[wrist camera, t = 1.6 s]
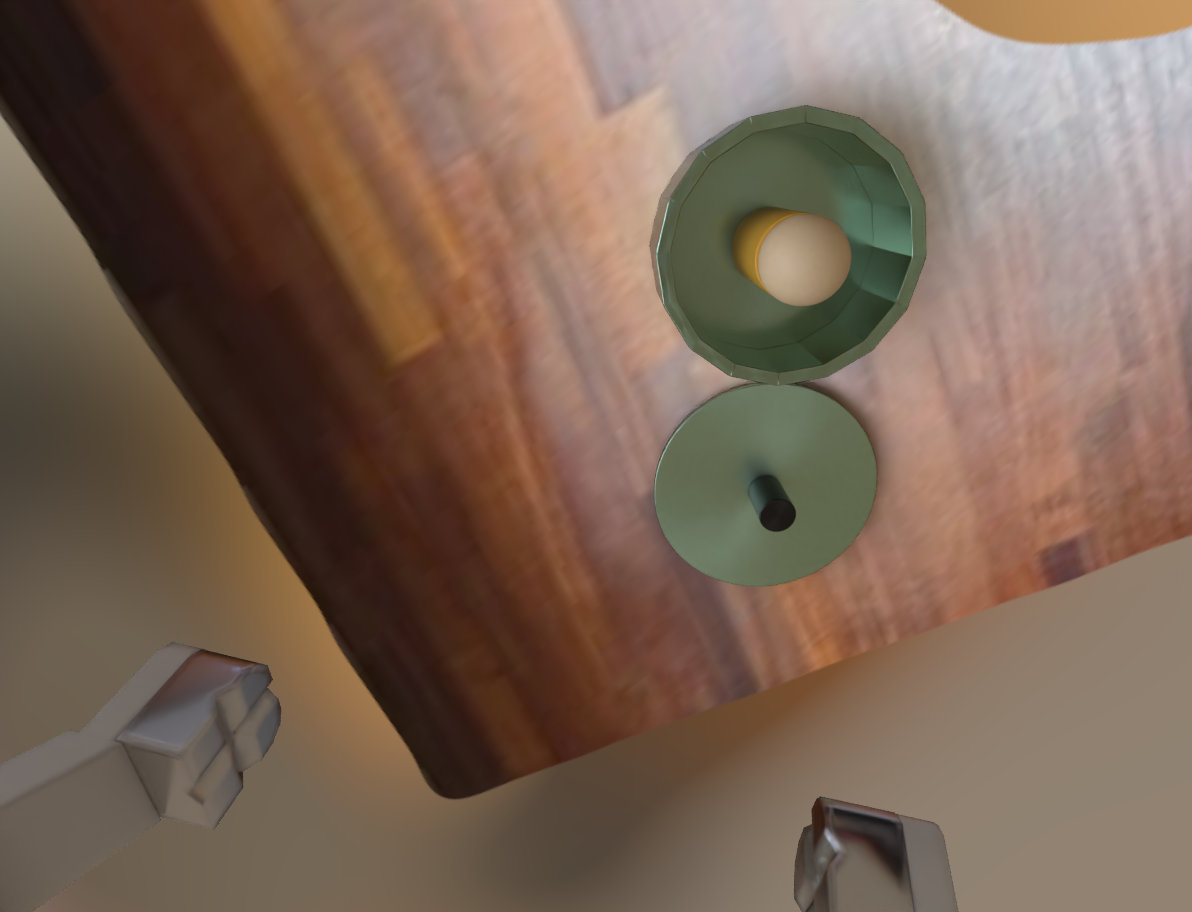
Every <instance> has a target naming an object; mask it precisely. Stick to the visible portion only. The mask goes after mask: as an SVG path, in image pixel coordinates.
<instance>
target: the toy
mask: <svg viewBox="0 0 1192 912" xmlns="http://www.w3.org/2000/svg"><path fill="white" fill-rule="evenodd" d="M731 252H732V258H733V261H734V264H735V266H736V267H737V269H738V270H739V272H740V273H741V274H742V275H744V276H745V277H746V278H747V279H749V280H750V281H752V282H753V283H755V284H756V285H757V286H759V287H760V288H762V289H763V290H765V291H766V292H767V293H769V294H770V295H772V296H773V297H775V298H776V299H778V300H779V301H781V302H783V303H786V304H789V305H793V306H810V305H814V304H817V303H820V302H822V301H824V300H826V299H828V298H829V297H830V296H832V295H833V294H834V293H835V292H836V291H837V290H838V289H839V288H840V287H841V285H842V284H843V283H844V281H845V279H846V277H847V275H848V272H849V269H850V265H851V248H850V244H849V241H848V238H847V236H846V235H845V233H844V231H843V230H842V229H841V228H840V226H838V225H837V224H836V223H835V222H834V221H832V220H831V219H829V218H826V217H824V216H821V215H818V214H812V213H806V212H800V211H795V210H789V209H783V208H777V207H766V208H761V209H758V210H756V211H754V212H752V213H750V214H749V215H748V216H746V217H745V218H744V219H743V220H742V221H741V223H740V224H739V225H738V227H737V228H736V231H735V233H734V235H733V239H732V245H731Z"/></svg>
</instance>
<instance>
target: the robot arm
mask: <svg viewBox="0 0 1192 912" xmlns="http://www.w3.org/2000/svg"><path fill="white" fill-rule="evenodd" d="M272 680H273V679H272V676H271V673H270V671H269V668H268V665H264V664H260V663H256V662H252V661H248V660H244V659H240V658H236V657H231V656H227V655H223V654H219V653H215V652H210V651H208V650H205V649H201V648H197V647H192V646H188V645H184V644H179V643H175V642H171V643H169V644H168V645H166V646H164V647H162V648H160V649H159V650H158V651H157V652H156V653H155V654H154V655H153V656H152V657H151V658H150V659H149V660H148V661H147V662H146V663H145V664H144V665H143V666H142V667H141V668H140V669H139V670H138V672H137V673H136V674H135V675H134V676H133V677H132V678H131V679H130V680H129V681H128V682H127V683H126V684H125V685H124V686H123V687H122V688H121V689H120V691H119V692H117V694H116V695H115V696H114V697H113V698H112V699H111V700H110V701H109V702H108V703H107V704H106V705H105V706H104V707H103V708H102V709H101V710H100V711H99V713H97V715H96V716H95V717H94V718H93V719H92V720H91V721H90V722H89V723H88V724H87V725H86V726H85V727H84V728H83V729H82V730H81V731H76V730H69V731H67V732H65V733H64V734H61V735H59V736H57V737H55V738H53V739H51V740H49V741H47V742H45V743H43V744H41V745H39V746H37V747H35V748H33V749H31V750H29V751H27V752H24V753H23V754H21V755H18V756H17V757H14V758H12V759H10V760H8V761H6V762H4V763H2V764H0V912H33V911H34V910H35V909H37V908H38V907H40V906H41V905H43V904H44V903H46V902H47V901H48V900H50V899H51V898H53V897H54V896H55V895H57V894H58V893H60V892H61V891H63V890H64V889H65V888H67V887H68V886H70V885H71V884H72V883H73V882H75V881H77V880H78V879H79V878H81V877H82V876H84V875H85V874H87V873H88V872H89V871H91V870H92V869H94V868H95V867H96V866H98V865H99V864H101V863H102V862H103V861H105V860H106V859H108V858H109V857H110V856H112V855H113V854H115V853H116V852H118V851H119V850H120V849H122V848H123V847H125V846H126V845H127V844H129V843H130V842H132V841H133V840H134V839H136V838H137V837H139V836H140V835H142V834H143V833H144V832H146V831H147V830H149V829H150V828H151V827H153V826H154V825H156V824H157V823H158V822H160V821H161V819H160V817H163V818H167V819H172V820H176V821H180V822H184V823H188V824H192V825H196V826H200V827H204V828H208V829H212V830H214V829H215V828H216V827H217V825H218V824H219V822H220V821H221V819H222V818H223V816H224V815H225V813H226V812H227V810H228V809H229V808H230V806H231V805H232V803H233V802H234V800H235V799H236V797H237V796H238V794H239V793H240V792H241V790H242V789H243V771H245V770H246V769H248V768H250V767H251V766H253V765H254V764H256V763H258V762H260V761H261V760H262V759H263V757H264V756H265V754H266V753H267V751H268V750H269V748H270V747H271V745H272V743H273V741H274V739H275V736H276V734H277V731H278V728H279V726H280V721H281V706H280V703H279V699H278V698H277V697H276V696H275V695H274V694H273V693H272V692H271V691H270V690H269V689H268V688H267V687H268V686H269V684H270V683H271V681H272ZM794 899H795V901H796V903H797V904H798V906H799V908H800V910H801V911H802V912H958V907H957V902H956V897H955V892H954V886H953V881H952V876H951V871H950V865H949V860H948V855H947V850H946V845H945V840H944V835H943V833H942V831H941V830H940V828H939V826H938V825H937V824H935V823H934V822H930V821H925V820H921V819H916V818H912V817H907V816H903V815H899V814H895V813H894V812H890V811H885V810H881V809H876V808H871V807H867V806H862V805H857V804H853V803H848V802H844V801H839V800H834V799H830V798H826V797H819V798H817V799H816V801H815V803H814V806H813V808H812V824H811V825H809V826H807V827H805V828H804V829H803V832H802V834H801V837H800V840H799V844H798V849H797V855H796V860H795V874H794Z"/></svg>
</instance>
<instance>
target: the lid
mask: <svg viewBox="0 0 1192 912" xmlns="http://www.w3.org/2000/svg"><path fill="white" fill-rule="evenodd" d="M876 486H877V469H876V461H875V456H874V453H873V449H872V446H871V443H870V441H869V439H868V437H867V435H866V433H865V431H864V430H863V428H862V427H861V425H860V424H859V422H858V421H857V420H856V419H855V418H854V417H853V416H852V414H851V413H850V412H849V411H848V410H847V409H845V408H844V407H843V406H842V405H840V404H839V403H838V402H837V401H835V400H834V399H832V398H830V397H829V396H827V395H825V394H823V393H821V392H819V391H816V390H814V389H812V388H808V387H805V386H801V385H797V384H785V385H780V386H778V385H777V386H775V385H770V384H765V383H755V384H749V385H745V386H741V387H737V388H734V389H732V390H729V391H726V392H724V393H721V394H719V395H717V396H716V397H714V398H712V399H710V400H708V401H707V402H705V403H704V404H702V405H701V406H699V407H698V408H697V409H695V410H694V411H693V412H692V413H691V414H690V415H689V416H687V417H686V418H685V419H684V420H683V422H682V423H681V424H680V425H679V426H678V427H677V428H676V430H675V431H674V433H673V434H672V436H671V437H670V439H669V440H668V442H667V444H666V446H665V448H664V450H663V452H662V454H661V456H660V459H659V462H658V465H657V469H656V475H655V480H654V500H655V509H656V513H657V517H658V521H659V523H660V526H661V528H662V530H663V533H664V535H665V536H666V538H667V540H668V541H669V543H670V545H671V546H672V547H673V548H674V550H675V551H676V552H677V553H678V554H679V555H680V556H681V557H682V558H683V559H684V560H685V561H686V562H687V563H688V564H690V565H691V566H693V567H694V568H695V569H697V570H698V571H700V572H702V573H704V574H706V575H708V576H710V577H712V578H715V579H717V580H720V581H723V582H727V583H731V584H735V585H743V586H771V585H778V584H783V583H787V582H791V581H794V580H797V579H800V578H803V577H805V576H807V575H810V574H812V573H814V572H816V571H818V570H819V569H821V568H823V567H824V566H826V565H828V564H829V563H830V562H832V561H833V560H834V559H835V558H837V557H838V556H839V555H840V554H841V553H842V552H843V551H844V550H845V549H846V548H848V547H849V545H850V544H851V543H852V542H853V540H854V539H855V538H856V537H857V536H858V534H859V532H860V531H861V529H862V528H863V526H864V524H865V522H866V520H867V518H868V516H869V514H870V512H871V508H872V505H873V502H874V498H875V492H876Z"/></svg>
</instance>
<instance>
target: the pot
mask: <svg viewBox="0 0 1192 912" xmlns="http://www.w3.org/2000/svg"><path fill="white" fill-rule="evenodd" d="M924 201H925V200H924V198H923V196H922V194H921V191H920V189H919V187H918V185H917V183H916V181H915V179H914V176H913V174H912V172H911V170H910V168H909V166H908V163H907V161H906V159H905V157H904V155H903V153H901V151H900V150H899V149H898V148H897V147H895V146H894V145H893V144H892V143H890V142H889V141H888V140H887V139H886V138H884V137H883V136H882V135H881V134H879V133H878V132H877V131H876V130H875V129H873V128H872V127H871V126H870V125H868V124H867V123H866V122H865V121H864V120H862V119H860V118H859V117H855V116H851V115H847V114H842V113H838V112H834V111H829V110H825V109H821V108H816V107H812V106H808V105H807V106H806V105H804V106H800V107H795V108H790V109H785V110H780V111H776V112H771V113H766V114H761V115H756V116H752V117H749V118H746V119H744V120H742V121H739V122H737V123H735V124H732V125H730V126H729V127H727V128H726V129H724V130H723V131H721V132H720V133H718V134H717V135H715V136H714V137H713V138H711V139H709V140H708V141H707V142H705V143H704V144H702V145H701V146H700V147H698V148H697V149H695V150H694V151H692V152H691V153H690V154H689V155H688V156H687V157H686V159H685V160H684V162H683V163H682V165H681V166H680V168H679V169H678V170H677V172H676V173H675V174H674V176H673V177H672V179H671V181H670V182H669V184H668V186H667V187H666V189H665V190H664V192H663V193H662V195H661V197H660V200H659V204H658V208H657V212H656V216H655V219H654V224H653V231H652V235H651V239H650V245H649V246H650V253H651V259H652V267H653V272H654V278H655V284H656V290H657V293H658V295H659V297H660V299H661V301H662V303H663V306H664V308H665V309H666V311H667V312H668V314H669V316H670V317H671V319H672V321H673V322H674V324H675V325H676V327H677V329H678V330H679V332H680V334H681V335H682V337H683V338H684V340H685V342H686V343H687V345H688V346H689V348H690V349H691V350H693V351H694V352H696V353H697V354H698V355H700V356H701V357H703V358H704V359H706V360H707V361H708V362H710V363H711V364H713V365H714V366H716V367H717V368H719V369H720V370H721V371H723V372H724V373H726V374H727V375H729V376H731V377H736V378H741V379H746V380H751V381H756V382H760V383H765V384H770V385H775V386H777V385H778V386H780V385H785V384H791V383H797V382H802V381H808V380H814V379H819V378H825V377H828V376H830V375H832V374H833V373H835V372H837V371H838V370H840V369H842V368H844V367H845V366H847V365H849V364H850V363H852V362H854V361H855V360H857V359H859V358H861V357H862V356H864V355H866V354H867V353H869V352H871V351H872V350H873V349H874V348H875V347H876V346H877V344H878V343H879V342H880V341H881V340H882V339H883V337H884V336H885V335H886V334H887V333H888V331H889V330H890V329H891V328H892V327H893V325H894V324H895V323H896V322H897V321H898V319H899V318H900V317H901V316H902V315H903V313H904V312H905V311H906V310H907V308H908V306H909V303H910V300H911V297H912V295H913V292H914V289H915V286H916V284H917V281H918V278H919V275H920V273H921V270H922V267H923V264H924V262H925V259H926V214H925V202H924ZM766 207H777V208H783V209H789V210H795V211H800V212H806V213H812V214H818V215H821V216H824V217H826V218H829V219H831V220H832V221H834V222H835V223H836V224H837V225H838V226H840V228H841V229H842V230H843V231H844V233H845V235H846V236H847V238H848V241H849V244H850V248H851V265H850V269H849V272H848V275H847V277H846V279H845V281H844V283H843V284H842V285H841V287H840V288H839V289H838V290H837V291H836V292H835V293H834V294H833V295H832V296H830V297H829V298H828V299H826V300H824V301H822V302H820V303H817V304H814V305H810V306H793V305H789V304H786V303H783V302H781V301H779V300H778V299H776V298H775V297H773V296H772V295H770V294H769V293H767V292H766V291H765V290H763V289H762V288H760V287H759V286H757V285H756V284H755V283H753V282H752V281H750V280H749V279H747V278H746V277H745V276H744V275H742V274H741V273H740V272H739V270H738V269H737V267H736V266H735V264H734V261H733V258H732V252H731V245H732V239H733V235H734V233H735V231H736V228H737V227H738V225H739V224H740V223H741V221H742V220H743V219H744V218H745V217H746V216H748V215H749V214H750V213H752V212H754V211H756V210H758V209H761V208H766Z"/></svg>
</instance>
